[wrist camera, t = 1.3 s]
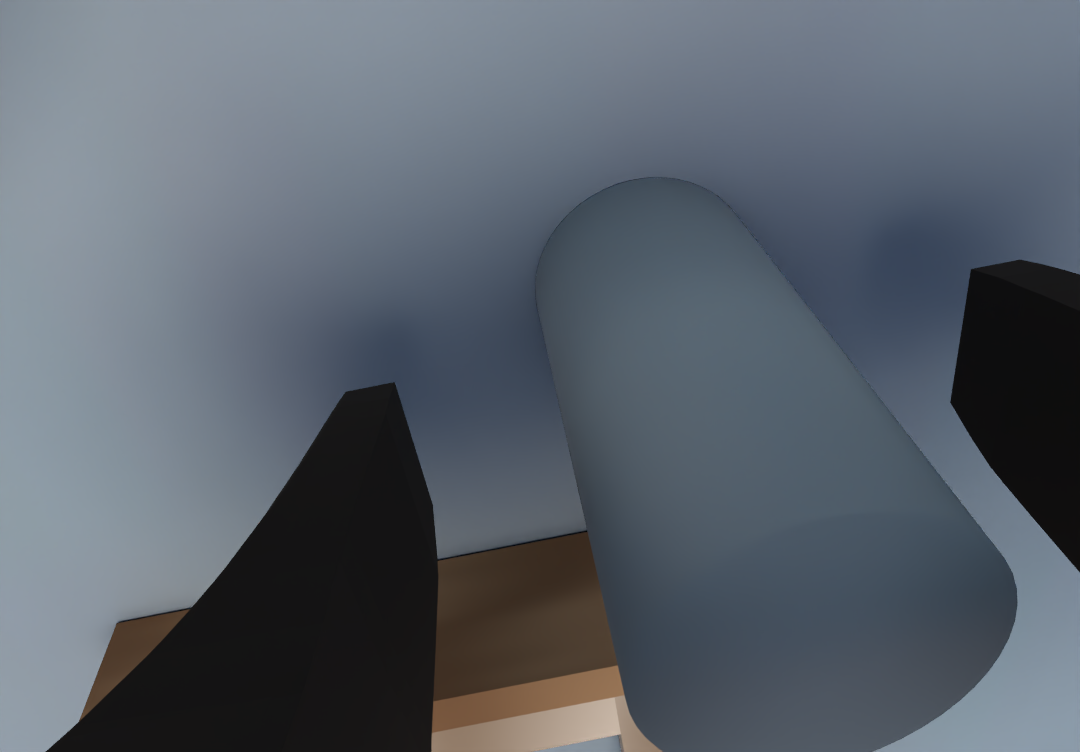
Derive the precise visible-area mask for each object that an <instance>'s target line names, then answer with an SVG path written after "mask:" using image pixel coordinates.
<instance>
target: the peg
mask: <svg viewBox="0 0 1080 752" xmlns="http://www.w3.org/2000/svg"><path fill="white" fill-rule="evenodd" d="M535 296H536V305H537V309H538V313H539V318H540V322H541V327H542V331H543V336H544V340H545V345H546V349H547V353H548V358H549V362H550V367H551V371H552V376H553V380H554V385H555V389H556V393H557V398H558V402H559V407H560V411H561V416H562V420H563V424H564V429H565V433H566V438H567V442H568V447H569V451H570V456H571V460H572V464H573V469H574V473H575V478H576V482H577V487H578V491H579V495H580V500H581V504H582V509H583V513H584V518H585V522H586V527H587V531H588V535H589V540H590V544H591V549H592V553H593V558H594V562H595V567H596V571H597V575H598V580H599V584H600V589H601V593H602V598H603V602H604V606H605V611H606V615H607V620H608V624H609V629H610V633H611V638H612V642H613V646H614V651H615V655H616V660H617V664H618V669H619V673H620V677H621V682H622V686H623V691H624V695H625V699H626V703H627V707H628V710H629V713H630V715H631V717H632V719H633V721H634V723H635V725H636V727H637V728H638V729H639V730H640V731H641V733H642V734H643V735H644V736H645V737H646V739H648V740H649V741H650V742H651V743H652V744H654V745H655V746H656V747H657V748H658V749H660V750H662V751H663V752H872V751H875V750H877V749H880V748H882V747H884V746H887V745H889V744H891V743H893V742H895V741H897V740H900V739H902V738H904V737H905V736H907V735H909V734H911V733H913V732H915V731H916V730H918V729H920V728H922V727H923V726H925V725H926V724H928V723H930V722H931V721H933V720H934V719H936V718H937V717H939V716H940V715H942V714H943V713H944V712H946V711H947V710H948V709H950V708H951V707H952V706H953V705H955V704H956V703H957V702H959V701H960V700H961V699H962V698H963V697H964V696H965V695H966V694H967V693H968V692H969V691H971V690H972V689H973V688H974V687H975V686H976V685H977V684H978V682H979V681H980V680H981V679H982V678H983V677H984V676H985V675H986V673H987V672H988V671H989V670H990V668H991V667H992V666H993V664H994V663H995V661H996V660H997V659H998V657H999V656H1000V654H1001V652H1002V650H1003V648H1004V646H1005V645H1006V643H1007V641H1008V639H1009V636H1010V633H1011V631H1012V628H1013V625H1014V622H1015V616H1016V610H1017V588H1016V584H1015V581H1014V577H1013V573H1012V571H1011V569H1010V568H1009V566H1008V564H1007V562H1006V560H1005V558H1004V557H1003V556H1002V555H1001V553H1000V552H999V551H998V549H997V548H996V547H995V546H994V544H993V543H992V542H991V540H990V539H989V538H988V537H987V535H986V534H985V533H984V531H983V530H982V529H981V528H980V526H979V525H978V524H977V522H976V521H975V520H974V519H973V517H972V516H971V515H970V514H969V512H968V511H967V510H966V508H965V507H964V506H963V505H962V503H961V502H960V501H959V499H958V498H957V497H956V496H955V494H954V493H953V492H952V490H951V489H950V488H949V487H948V485H947V484H946V483H945V482H944V480H943V479H942V478H941V476H940V475H939V474H938V473H937V471H936V470H935V469H934V467H933V466H932V465H931V464H930V462H929V461H928V460H927V458H926V457H925V456H924V455H923V453H922V452H921V451H920V450H919V448H918V447H917V446H916V444H915V443H914V442H913V441H912V439H911V438H910V437H909V435H908V434H907V433H906V432H905V430H904V429H903V428H902V426H901V425H900V424H899V423H898V421H897V420H896V419H895V417H894V416H893V415H892V414H891V412H890V411H889V410H888V409H887V407H886V406H885V405H884V403H883V402H882V401H881V400H880V398H879V397H878V396H877V394H876V393H875V392H874V391H873V389H872V388H871V387H870V385H869V384H868V383H867V382H866V380H865V379H864V378H863V377H862V375H861V374H860V373H859V371H858V370H857V369H856V368H855V366H854V365H853V364H852V362H851V361H850V360H849V359H848V357H847V356H846V355H845V353H844V352H843V351H842V350H841V348H840V347H839V346H838V345H837V343H836V342H835V341H834V339H833V338H832V337H831V336H830V334H829V333H828V332H827V330H826V329H825V328H824V327H823V325H822V324H821V323H820V321H819V320H818V319H817V318H816V316H815V315H814V314H813V312H812V311H811V310H810V309H809V307H808V306H807V305H806V304H805V302H804V301H803V300H802V298H801V297H800V296H799V295H798V293H797V292H796V291H795V289H794V288H793V287H792V286H791V284H790V283H789V282H788V280H787V279H786V278H785V277H784V275H783V274H782V273H781V272H780V270H779V269H778V268H777V266H776V265H775V264H774V263H773V261H772V260H771V259H770V257H769V256H768V255H767V254H766V252H765V251H764V250H763V248H762V247H761V246H760V245H759V243H758V242H757V241H756V240H755V238H754V237H753V236H752V234H751V233H750V232H749V231H748V229H747V228H746V227H745V225H744V224H743V223H742V222H741V220H740V219H739V218H738V216H737V215H736V214H735V213H734V212H733V210H732V209H731V208H730V207H729V206H728V205H727V204H726V203H725V202H724V201H723V200H721V199H720V198H719V197H718V196H716V195H715V194H713V193H712V192H710V191H708V190H707V189H705V188H703V187H700V186H698V185H696V184H693V183H690V182H686V181H682V180H678V179H671V178H644V179H636V180H631V181H627V182H623V183H619V184H617V185H614V186H612V187H609V188H607V189H604V190H602V191H600V192H599V193H597V194H595V195H593V196H591V197H590V198H588V199H587V200H585V201H584V202H583V203H581V204H580V205H578V206H577V207H576V208H575V209H574V210H573V211H572V212H571V213H569V214H568V215H567V216H566V217H565V219H564V220H563V221H562V222H561V223H560V224H559V225H558V227H557V228H556V229H555V231H554V232H553V234H552V235H551V237H550V238H549V240H548V242H547V244H546V246H545V248H544V250H543V252H542V255H541V258H540V261H539V264H538V269H537V274H536V282H535Z"/></svg>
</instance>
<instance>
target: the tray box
mask: <svg viewBox="0 0 1080 752" xmlns="http://www.w3.org/2000/svg"><path fill="white" fill-rule="evenodd" d="M437 562H438V605H437V630H436V653H435V676H434V698H433V721H432V752H533V751H538V750H543V749H548V748H553V747H558V746H563V745H568V744H574V743H579V742H584V741H589V740H594V739H599V738H604V737H609V736H614V735H619V741H620V746H621V752H663V751H662V750H660V749H658V748H657V747H656V746H655V745H654V744H652V743H651V742H650V741H649V740H648V739H646V737H645V736H644V735H643V734H642V733H641V731H640V730H639V729H638V728H637V727H636V725H635V723H634V721H633V719H632V717H631V715H630V713H629V710H628V707H627V703H626V699H625V695H624V691H623V686H622V682H621V677H620V673H619V669H618V664H617V660H616V655H615V651H614V646H613V642H612V638H611V633H610V629H609V624H608V620H607V615H606V611H605V606H604V602H603V598H602V593H601V589H600V584H599V580H598V575H597V571H596V567H595V562H594V558H593V553H592V549H591V544H590V540H589V535H588V532H584V533H579V534H574V535H569V536H563V537H558V538H553V539H548V540H543V541H538V542H533V543H527V544H522V545H517V546H512V547H507V548H502V549H497V550H491V551H486V552H481V553H476V554H471V555H466V556H461V557H455V558H450V559H445V560H440V561H437ZM189 610H190V609H188V610H183V611H178V612H173V613H168V614H162V615H157V616H152V617H147V618H142V619H137V620H132V621H127V622H121V623H117V624H116V627H115V629H114V632H113V635H112V637H111V640H110V642H109V645H108V648H107V650H106V653H105V655H104V658H103V661H102V663H101V666H100V668H99V671H98V674H97V676H96V679H95V681H94V684H93V687H92V689H91V692H90V694H89V697H88V700H87V702H86V705H85V707H84V710H83V713H82V715H81V718H80V720H81V719H82V718H83V717H84V716H85V715H86V714H87V713H89V712H90V711H91V710H92V709H93V708H94V707H95V706H96V705H97V704H98V703H99V702H100V701H101V700H102V699H103V698H104V697H105V696H106V695H107V694H108V693H109V692H110V691H111V690H112V689H113V688H114V687H115V686H116V685H117V684H118V683H120V682H121V681H122V680H123V679H124V678H125V677H126V676H127V675H128V674H129V673H130V672H131V671H132V670H133V669H134V668H135V667H136V666H137V665H138V664H139V663H140V662H141V661H142V660H143V659H144V658H145V657H146V656H147V655H148V654H149V653H150V652H151V651H152V650H153V649H154V648H155V647H156V646H157V645H158V644H159V643H160V642H161V641H162V640H163V639H164V638H165V636H166V635H167V634H168V633H169V632H170V631H171V630H172V629H173V628H174V627H175V625H176V624H177V623H178V622H179V621H180V620H181V619H182V618H183V617H184V616H185V614H186V613H187V612H188V611H189ZM80 720H79V721H80Z"/></svg>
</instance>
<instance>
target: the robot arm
mask: <svg viewBox="0 0 1080 752" xmlns="http://www.w3.org/2000/svg"><path fill="white" fill-rule="evenodd" d="M950 403H951V404H952V406H953V408H954V409H955V411H956V413H957V414H958V416H959V418H960V419H961V421H962V423H963V425H964V426H965V428H966V430H967V431H968V433H969V435H970V436H971V438H972V440H973V441H974V443H975V444H976V446H977V447H978V449H979V450H980V452H981V453H982V455H983V456H984V458H985V459H986V461H987V463H988V464H989V466H990V467H991V468H992V469H993V471H994V472H995V473H996V474H997V475H998V477H999V478H1000V479H1001V480H1002V482H1003V483H1004V484H1005V485H1006V486H1007V488H1008V489H1009V490H1010V491H1011V492H1012V494H1013V495H1014V496H1015V497H1016V498H1017V499H1018V501H1019V502H1020V503H1021V504H1022V505H1023V507H1024V508H1025V509H1026V510H1027V511H1028V513H1029V514H1030V515H1031V516H1032V517H1033V518H1034V520H1035V521H1036V522H1037V523H1038V524H1039V525H1040V527H1041V528H1042V529H1043V530H1044V531H1045V532H1046V534H1047V535H1048V536H1049V537H1050V538H1051V539H1052V541H1053V542H1054V543H1055V544H1056V545H1057V546H1058V547H1059V549H1060V550H1061V551H1062V552H1063V553H1064V554H1065V556H1066V557H1067V558H1068V559H1069V560H1070V561H1071V563H1072V564H1073V565H1074V566H1075V567H1076V568H1077V570H1078V571H1079V572H1080V275H1079V274H1076V273H1072V272H1069V271H1065V270H1062V269H1058V268H1054V267H1050V266H1046V265H1042V264H1038V263H1033V262H1028V261H1024V260H1016V261H1011V262H1006V263H1001V264H995V265H990V266H985V267H980V268H975V269H971V273H970V279H969V286H968V292H967V299H966V305H965V311H964V318H963V324H962V331H961V337H960V344H959V350H958V357H957V363H956V369H955V376H954V382H953V389H952V395H951V402H950ZM437 605H438V562H437V549H436V537H435V526H434V514H433V504H432V501H431V498H430V495H429V492H428V488H427V485H426V482H425V479H424V475H423V472H422V469H421V466H420V463H419V459H418V456H417V453H416V450H415V446H414V443H413V440H412V437H411V434H410V430H409V427H408V424H407V421H406V417H405V414H404V411H403V408H402V405H401V401H400V398H399V395H398V392H397V388H396V385H395V382H393V383H388V384H383V385H378V386H373V387H368V388H363V389H358V390H353V391H348V392H345V394H344V395H343V397H342V398H341V399H340V401H339V402H338V404H337V405H336V407H335V408H334V410H333V411H332V413H331V415H330V416H329V418H328V419H327V421H326V423H325V424H324V426H323V427H322V429H321V431H320V432H319V434H318V435H317V437H316V439H315V440H314V442H313V443H312V445H311V446H310V448H309V450H308V451H307V453H306V454H305V456H304V457H303V459H302V461H301V462H300V464H299V465H298V467H297V468H296V470H295V471H294V473H293V474H292V476H291V477H290V479H289V480H288V482H287V483H286V485H285V486H284V488H283V489H282V491H281V492H280V494H279V495H278V497H277V498H276V500H275V501H274V503H273V504H272V506H271V507H270V508H269V510H268V511H267V513H266V514H265V516H264V517H263V518H262V520H261V521H260V523H259V524H258V525H257V527H256V528H255V529H254V531H253V532H252V533H251V534H250V536H249V537H248V538H247V540H246V541H245V542H244V544H243V545H242V546H241V548H240V549H239V550H238V552H237V553H236V554H235V556H234V557H233V558H232V560H231V561H230V562H229V564H228V565H227V566H226V568H225V569H224V570H223V571H222V573H221V574H220V575H219V576H218V577H217V579H216V580H215V581H214V582H213V584H212V585H211V586H210V587H209V588H208V589H207V591H206V592H205V593H204V594H203V595H202V596H201V598H200V599H199V600H198V601H197V602H196V603H195V604H194V606H193V607H192V608H191V609H190V610H189V611H188V612H187V613H186V614H185V616H184V617H183V618H182V619H181V620H180V621H179V622H178V623H177V624H176V625H175V627H174V628H173V629H172V630H171V631H170V632H169V633H168V634H167V635H166V636H165V638H164V639H163V640H162V641H161V642H160V643H159V644H158V645H157V646H156V647H155V648H154V649H153V650H152V651H151V652H150V653H149V654H148V655H147V656H146V657H145V658H144V659H143V660H142V661H141V662H140V663H139V664H138V665H137V666H136V667H135V668H134V669H133V670H132V671H131V672H130V673H129V674H128V675H127V676H126V677H125V678H124V679H123V680H122V681H121V682H120V683H118V684H117V685H116V686H115V687H114V688H113V689H112V690H111V691H110V692H109V693H108V694H107V695H106V696H105V697H104V698H103V699H102V700H101V701H100V702H99V703H98V704H97V705H96V706H95V707H94V708H93V709H92V710H91V711H90V712H89V713H87V714H86V715H85V716H84V717H83V718H82V719H81V720H80V721H79V722H78V723H77V724H76V725H75V726H74V727H73V728H72V729H71V730H70V731H68V732H67V733H66V734H65V735H64V736H63V737H62V738H61V739H60V740H58V741H57V742H56V743H55V744H54V745H53V746H52V747H50V748H49V749H48V750H47V751H46V752H432V721H433V698H434V676H435V653H436V630H437Z"/></svg>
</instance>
